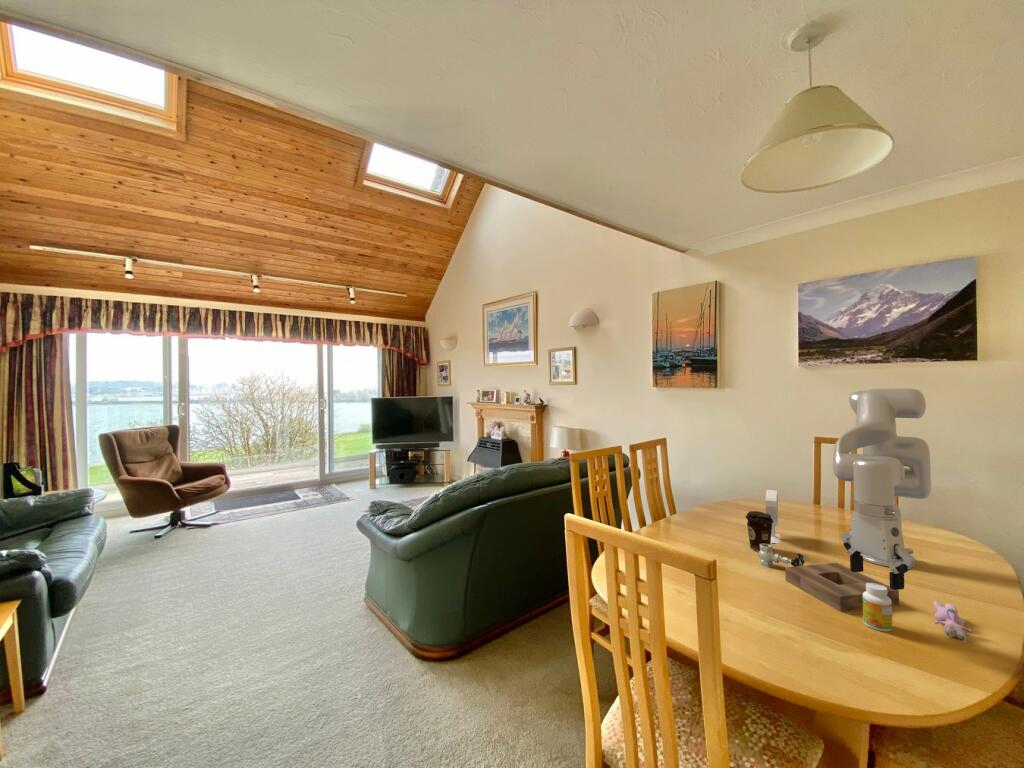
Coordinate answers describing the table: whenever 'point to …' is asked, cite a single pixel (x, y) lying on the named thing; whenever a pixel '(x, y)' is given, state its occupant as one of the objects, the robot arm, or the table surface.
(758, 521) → the coffee cup
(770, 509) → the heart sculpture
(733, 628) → the table surface
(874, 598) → the supplement bottle
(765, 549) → the valve
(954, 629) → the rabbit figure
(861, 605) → the socket block
